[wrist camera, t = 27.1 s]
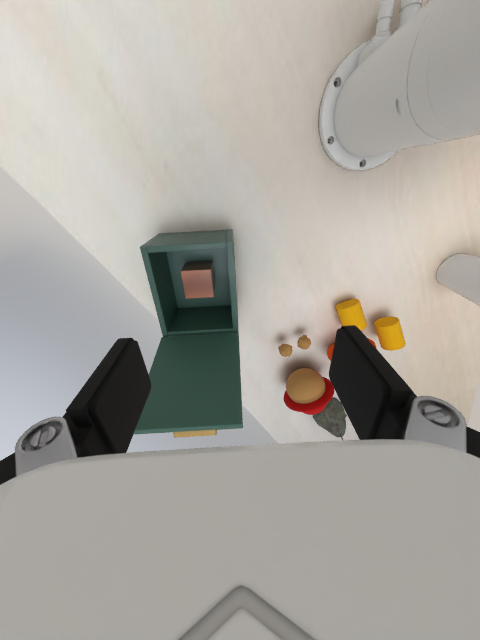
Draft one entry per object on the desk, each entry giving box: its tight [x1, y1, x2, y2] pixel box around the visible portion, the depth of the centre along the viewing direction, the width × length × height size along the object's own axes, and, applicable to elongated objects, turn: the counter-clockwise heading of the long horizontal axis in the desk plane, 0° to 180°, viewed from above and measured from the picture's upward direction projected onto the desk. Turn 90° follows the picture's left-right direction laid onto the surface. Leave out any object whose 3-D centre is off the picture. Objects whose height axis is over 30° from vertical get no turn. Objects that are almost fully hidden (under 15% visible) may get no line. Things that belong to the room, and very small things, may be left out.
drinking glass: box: [436, 254, 480, 306], centre depth 37 cm, size 7×7×10 cm
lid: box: [134, 333, 243, 437], centre depth 32 cm, size 14×12×5 cm
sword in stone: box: [313, 398, 347, 441], centre depth 54 cm, size 10×8×12 cm
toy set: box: [278, 299, 405, 415], centre depth 46 cm, size 25×11×19 cm
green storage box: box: [140, 230, 238, 337], centre depth 37 cm, size 14×12×9 cm
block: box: [181, 261, 216, 299], centre depth 38 cm, size 4×4×4 cm
